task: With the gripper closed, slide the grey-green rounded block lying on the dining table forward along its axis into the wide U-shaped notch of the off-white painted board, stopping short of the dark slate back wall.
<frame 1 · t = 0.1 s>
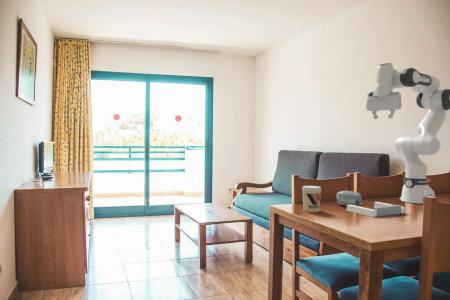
hand: (382, 118, 203), 48 cm above the table, fingers open, 8 cm apart
notched board: (375, 211, 187), on the table
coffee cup: (311, 210, 187), on the table
grey-green rounded block: (349, 206, 202), on the table
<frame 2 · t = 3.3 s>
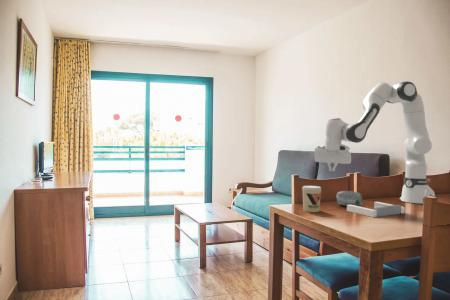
hand: (332, 170, 212), 18 cm above the table, fingers closed
nothing on the table moved.
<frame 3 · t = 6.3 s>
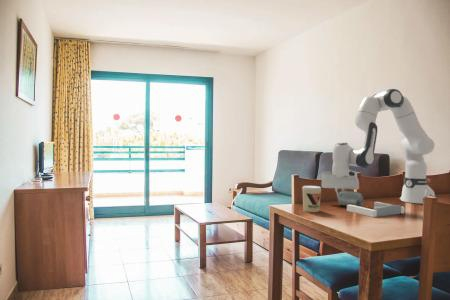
hand: (339, 196, 208), 4 cm above the table, fingers closed
grey-green rounded block: (349, 206, 201), on the table, touching gripper
everything else where it was.
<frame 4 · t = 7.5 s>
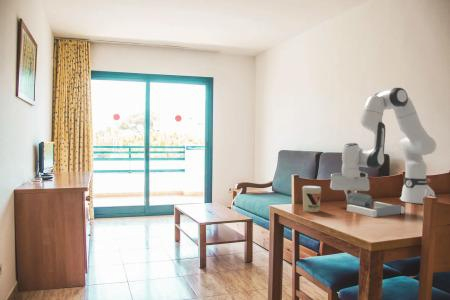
hand: (349, 198, 202), 4 cm above the table, fingers closed
grey-green rounded block: (359, 208, 195), on the table, touching gripper
everything else where it was.
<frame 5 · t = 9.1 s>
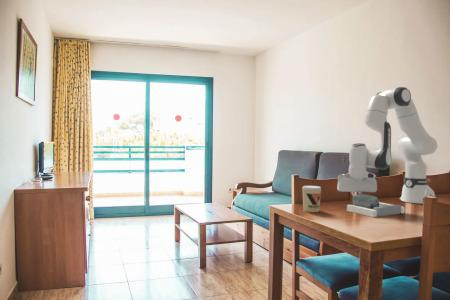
hand: (356, 199, 197), 4 cm above the table, fingers closed, pressing on grey-green rounded block
grey-green rounded block: (365, 210, 191), on the table, touching gripper
everything else where it was.
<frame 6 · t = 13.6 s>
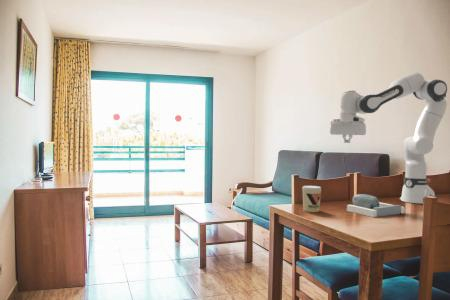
hand: (347, 142, 216), 34 cm above the table, fingers closed
grey-green rounded block: (365, 210, 191), on the table
everything else where it was.
at the end: grey-green rounded block inside the target area (3.7 cm from its centre), on the table; grey-green rounded block moved 12.2 cm from its start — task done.
